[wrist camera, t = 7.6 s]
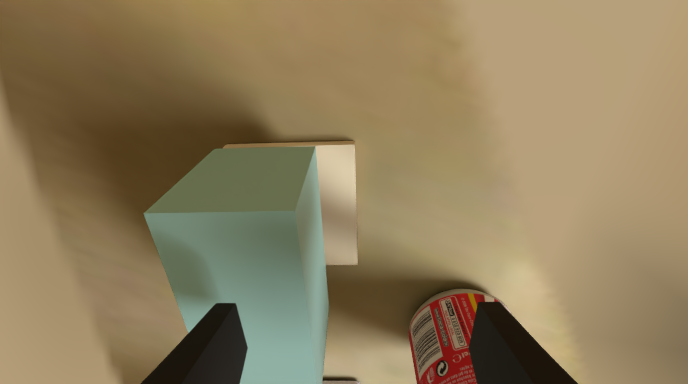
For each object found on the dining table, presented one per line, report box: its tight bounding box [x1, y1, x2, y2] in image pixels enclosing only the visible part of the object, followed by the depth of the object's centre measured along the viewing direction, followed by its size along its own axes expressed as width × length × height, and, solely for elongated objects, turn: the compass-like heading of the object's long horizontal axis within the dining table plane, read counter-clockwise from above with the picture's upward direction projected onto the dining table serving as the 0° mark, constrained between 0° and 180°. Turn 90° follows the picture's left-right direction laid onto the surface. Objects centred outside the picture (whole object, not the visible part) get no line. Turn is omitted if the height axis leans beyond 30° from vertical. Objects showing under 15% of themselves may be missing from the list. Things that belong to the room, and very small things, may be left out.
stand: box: [223, 141, 358, 265], centre depth 18 cm, size 8×7×3 cm
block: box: [143, 146, 329, 384], centre depth 15 cm, size 10×5×6 cm, turn 2°
